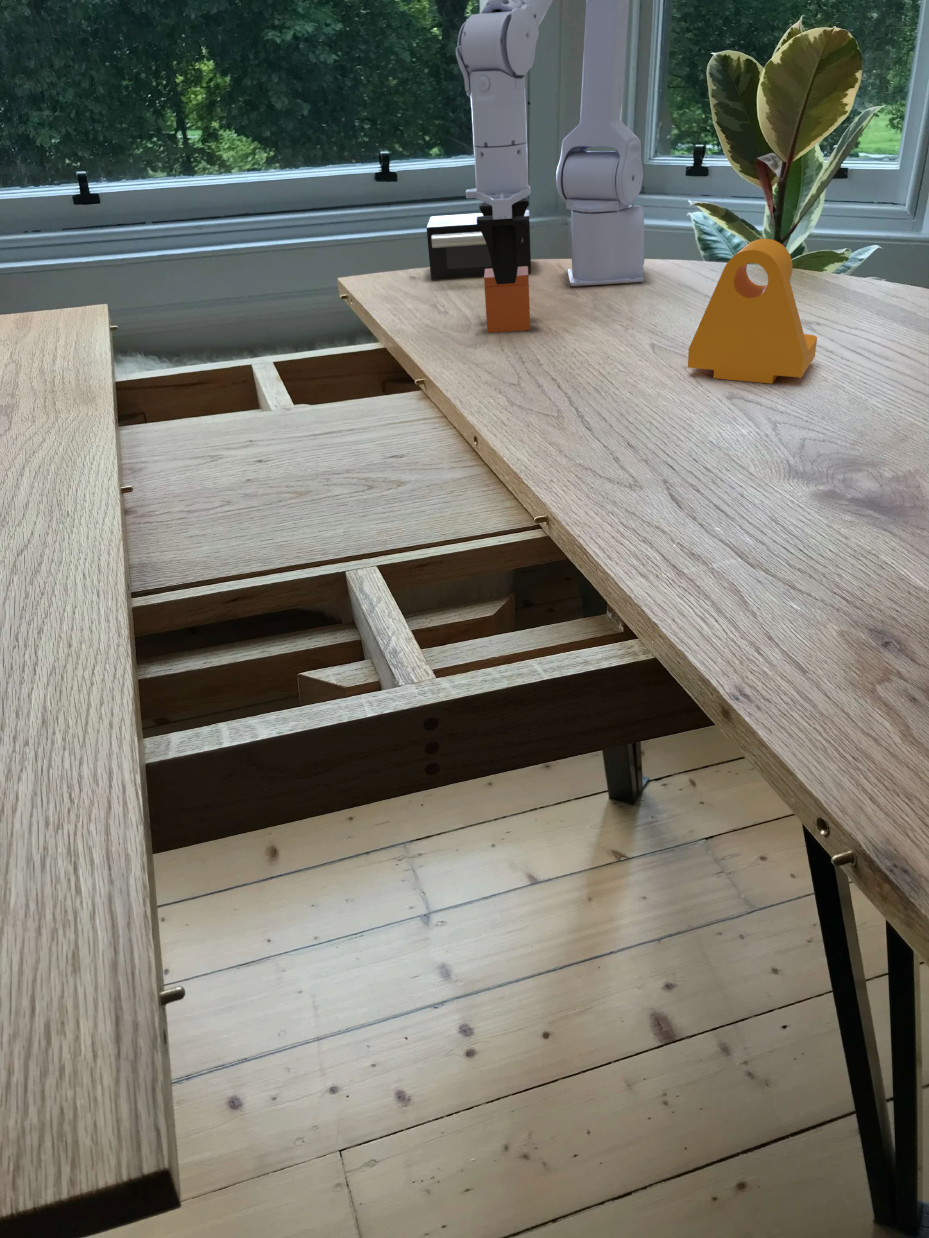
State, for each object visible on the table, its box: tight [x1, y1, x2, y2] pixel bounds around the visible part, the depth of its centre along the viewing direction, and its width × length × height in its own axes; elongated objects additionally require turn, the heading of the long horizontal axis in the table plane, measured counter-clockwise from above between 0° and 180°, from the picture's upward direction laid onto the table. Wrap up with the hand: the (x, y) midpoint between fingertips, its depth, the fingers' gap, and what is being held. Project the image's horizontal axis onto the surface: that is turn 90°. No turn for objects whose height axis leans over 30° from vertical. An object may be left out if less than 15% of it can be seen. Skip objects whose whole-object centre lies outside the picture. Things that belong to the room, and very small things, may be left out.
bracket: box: [687, 238, 818, 385], centre depth 93 cm, size 11×7×12 cm, turn 62°
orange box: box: [483, 266, 531, 334], centre depth 113 cm, size 5×4×6 cm
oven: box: [426, 209, 532, 281], centre depth 135 cm, size 14×13×7 cm
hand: (506, 275), depth 112 cm, fingers open, 7 cm apart
